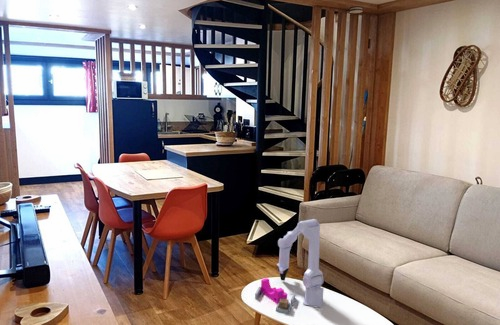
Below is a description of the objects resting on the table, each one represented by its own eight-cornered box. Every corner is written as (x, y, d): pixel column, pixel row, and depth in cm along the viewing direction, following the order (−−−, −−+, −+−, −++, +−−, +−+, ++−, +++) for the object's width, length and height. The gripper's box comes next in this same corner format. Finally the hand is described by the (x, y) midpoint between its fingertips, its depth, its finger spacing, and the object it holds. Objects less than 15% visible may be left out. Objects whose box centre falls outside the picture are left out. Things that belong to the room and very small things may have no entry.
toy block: (286, 301, 207) (287, 288, 206) (277, 305, 204) (278, 291, 203) (269, 289, 220) (270, 277, 218) (260, 292, 216) (261, 279, 215)
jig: (294, 298, 211) (295, 293, 210) (289, 313, 196) (289, 308, 196) (259, 291, 216) (259, 286, 216) (251, 306, 202) (251, 300, 201)
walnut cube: (288, 306, 202) (288, 299, 201) (286, 310, 198) (286, 303, 197) (280, 305, 203) (280, 298, 202) (278, 309, 199) (279, 302, 198)
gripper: (280, 252, 234) (278, 273, 236) (274, 262, 220) (273, 284, 223) (291, 253, 232) (290, 275, 234) (286, 264, 218) (285, 286, 221)
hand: (282, 279), depth 228 cm, fingers closed
